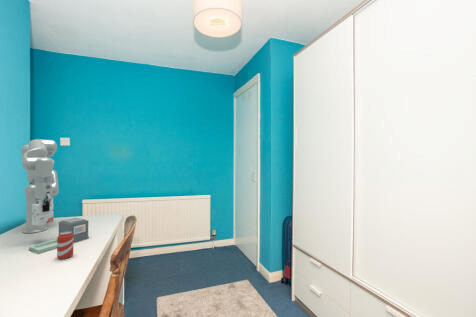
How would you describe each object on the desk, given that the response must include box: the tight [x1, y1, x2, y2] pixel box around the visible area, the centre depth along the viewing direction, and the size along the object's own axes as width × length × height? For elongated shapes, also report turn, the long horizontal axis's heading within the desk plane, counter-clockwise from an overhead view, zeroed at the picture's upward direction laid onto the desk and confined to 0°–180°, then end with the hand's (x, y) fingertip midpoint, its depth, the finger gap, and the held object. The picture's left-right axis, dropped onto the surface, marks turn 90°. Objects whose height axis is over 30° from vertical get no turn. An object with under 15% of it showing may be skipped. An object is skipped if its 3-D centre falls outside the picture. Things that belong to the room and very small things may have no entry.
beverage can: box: [56, 231, 75, 260], centre depth 111 cm, size 6×6×12 cm
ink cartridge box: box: [32, 197, 54, 226], centre depth 131 cm, size 9×5×15 cm, turn 168°
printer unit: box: [57, 217, 89, 243], centre depth 136 cm, size 12×10×12 cm
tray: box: [28, 239, 57, 254], centre depth 123 cm, size 10×14×2 cm
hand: (42, 210), depth 131 cm, fingers closed on ink cartridge box, 5 cm apart
